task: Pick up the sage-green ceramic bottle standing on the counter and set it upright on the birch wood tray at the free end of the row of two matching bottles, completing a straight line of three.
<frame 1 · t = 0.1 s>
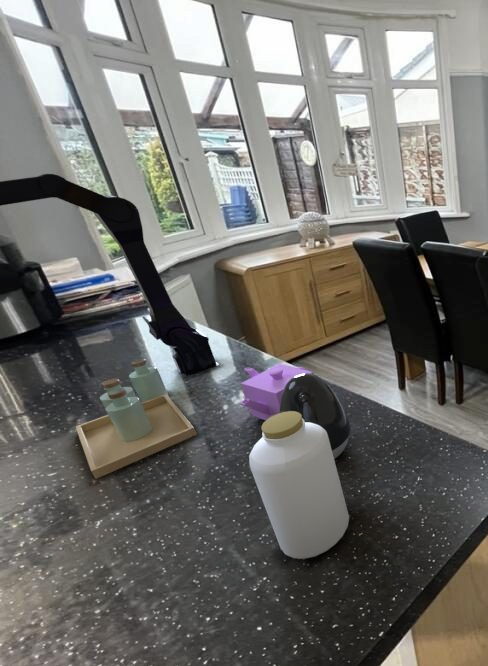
loose bottle: (155, 399, 82), on the kitchen counter
row bottle 1: (130, 422, 74), resting on tray
tray: (138, 435, 71), on the kitchen counter
row bottle 2: (137, 433, 71), resting on tray
teapot: (286, 417, 76), on the kitchen counter
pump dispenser: (322, 455, 66), on the kitchen counter
white jar with lid: (317, 534, 52), on the kitchen counter
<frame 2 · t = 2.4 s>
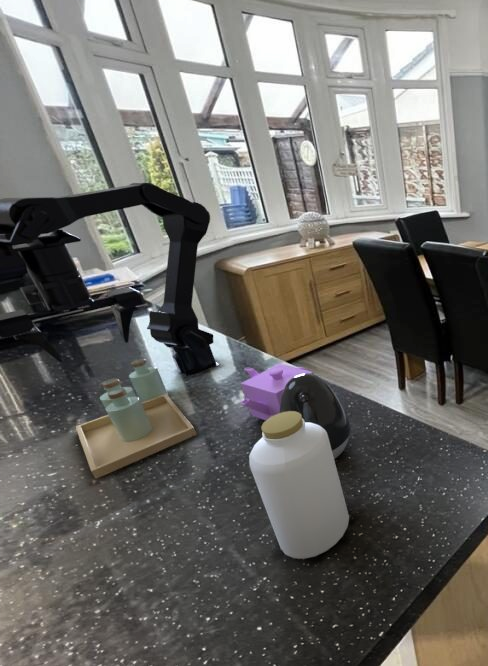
hand: (95, 351, 75), 13 cm above the kitchen counter, tool pointing down, fingers open, 9 cm apart
nothing on the kitchen counter moved.
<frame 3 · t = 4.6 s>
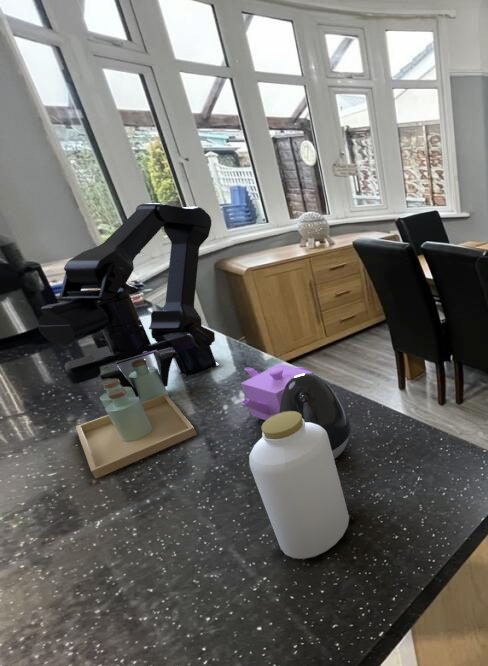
hand: (151, 390, 82), 2 cm above the kitchen counter, tool pointing down, fingers closed on loose bottle, 4 cm apart
loose bottle: (155, 399, 82), on the kitchen counter, touching gripper
everything else where it was.
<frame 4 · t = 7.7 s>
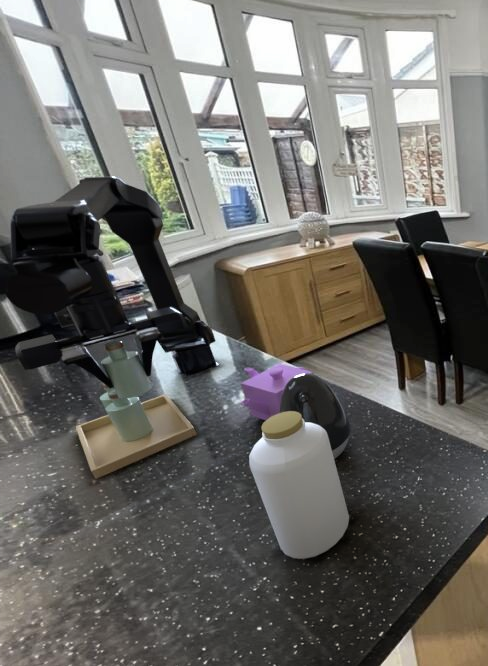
hand: (130, 381, 66), 12 cm above the kitchen counter, tool pointing down, fingers closed on loose bottle, 4 cm apart
loose bottle: (135, 391, 66), point 10 cm above the kitchen counter, touching gripper
everything else where it was.
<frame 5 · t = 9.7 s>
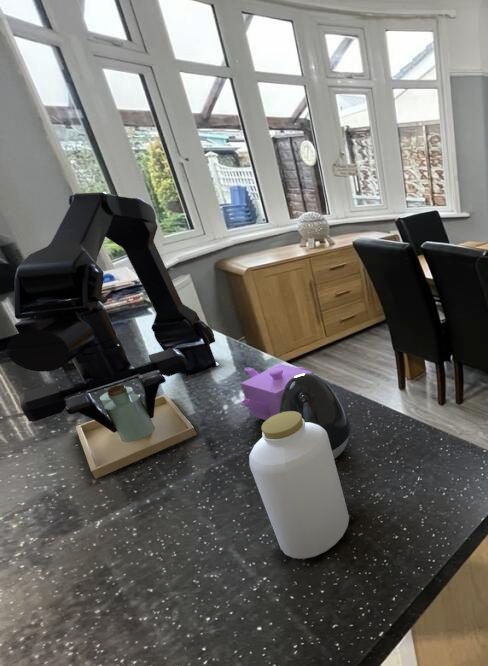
hand: (133, 423, 66), 5 cm above the kitchen counter, tool pointing down, fingers closed on loose bottle, 4 cm apart
loose bottle: (138, 433, 67), point 3 cm above the kitchen counter, touching gripper
everything else where it was.
when the fingers open (2 cm above the kitchen counter, at t = 11.0 s): loose bottle stays where it is, resting on tray.
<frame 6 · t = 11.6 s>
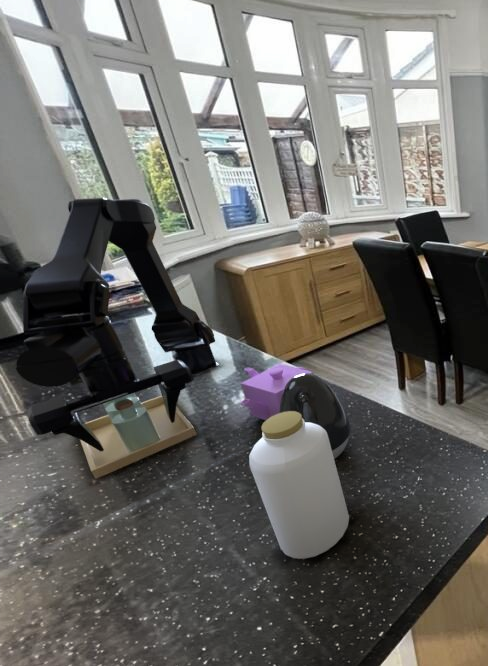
hand: (139, 435, 67), 3 cm above the kitchen counter, tool pointing down, fingers open, 9 cm apart
loose bottle: (144, 446, 68), resting on tray
everything else where it was.
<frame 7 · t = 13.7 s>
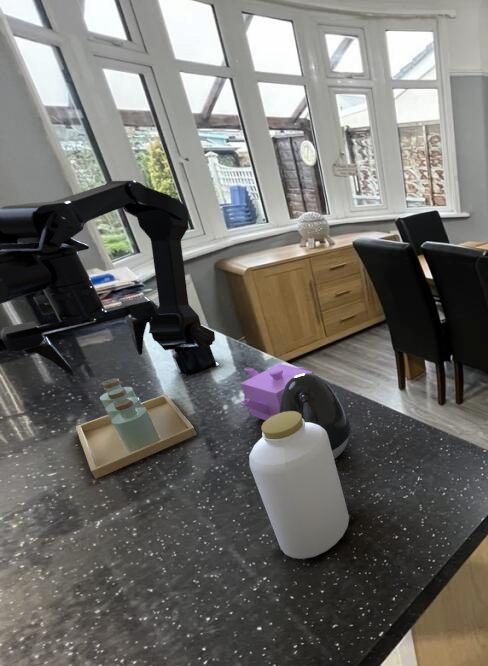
hand: (108, 363, 72), 12 cm above the kitchen counter, tool pointing down, fingers open, 9 cm apart
nothing on the kitchen counter moved.
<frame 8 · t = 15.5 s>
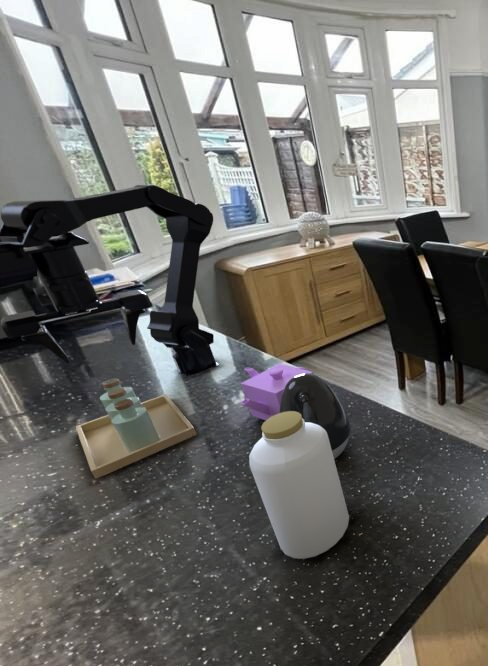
hand: (102, 352, 76), 12 cm above the kitchen counter, tool pointing down, fingers open, 9 cm apart
nothing on the kitchen counter moved.
at the end: loose bottle 0.2 cm from the target spot in the tray, point 0.5 cm above the tray's base; loose bottle tilted 0°; row bottle 2 moved 0.0 cm from its start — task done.
